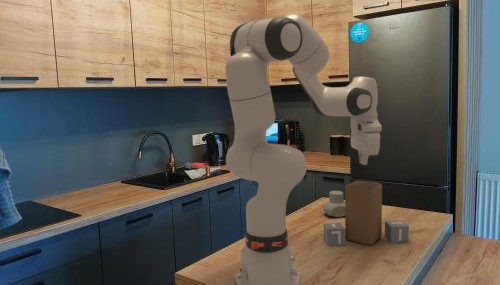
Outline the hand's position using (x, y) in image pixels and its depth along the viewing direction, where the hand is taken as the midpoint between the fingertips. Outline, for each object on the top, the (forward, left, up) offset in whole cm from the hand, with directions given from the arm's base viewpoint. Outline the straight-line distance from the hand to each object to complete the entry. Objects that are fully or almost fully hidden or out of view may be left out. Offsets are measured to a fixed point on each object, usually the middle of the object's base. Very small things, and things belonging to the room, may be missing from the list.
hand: (363, 164), depth 133 cm
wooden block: (0, 0, -27) cm, 27 cm away
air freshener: (+27, +3, -27) cm, 38 cm away
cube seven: (-2, +11, -27) cm, 29 cm away
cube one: (-2, -11, -27) cm, 29 cm away
